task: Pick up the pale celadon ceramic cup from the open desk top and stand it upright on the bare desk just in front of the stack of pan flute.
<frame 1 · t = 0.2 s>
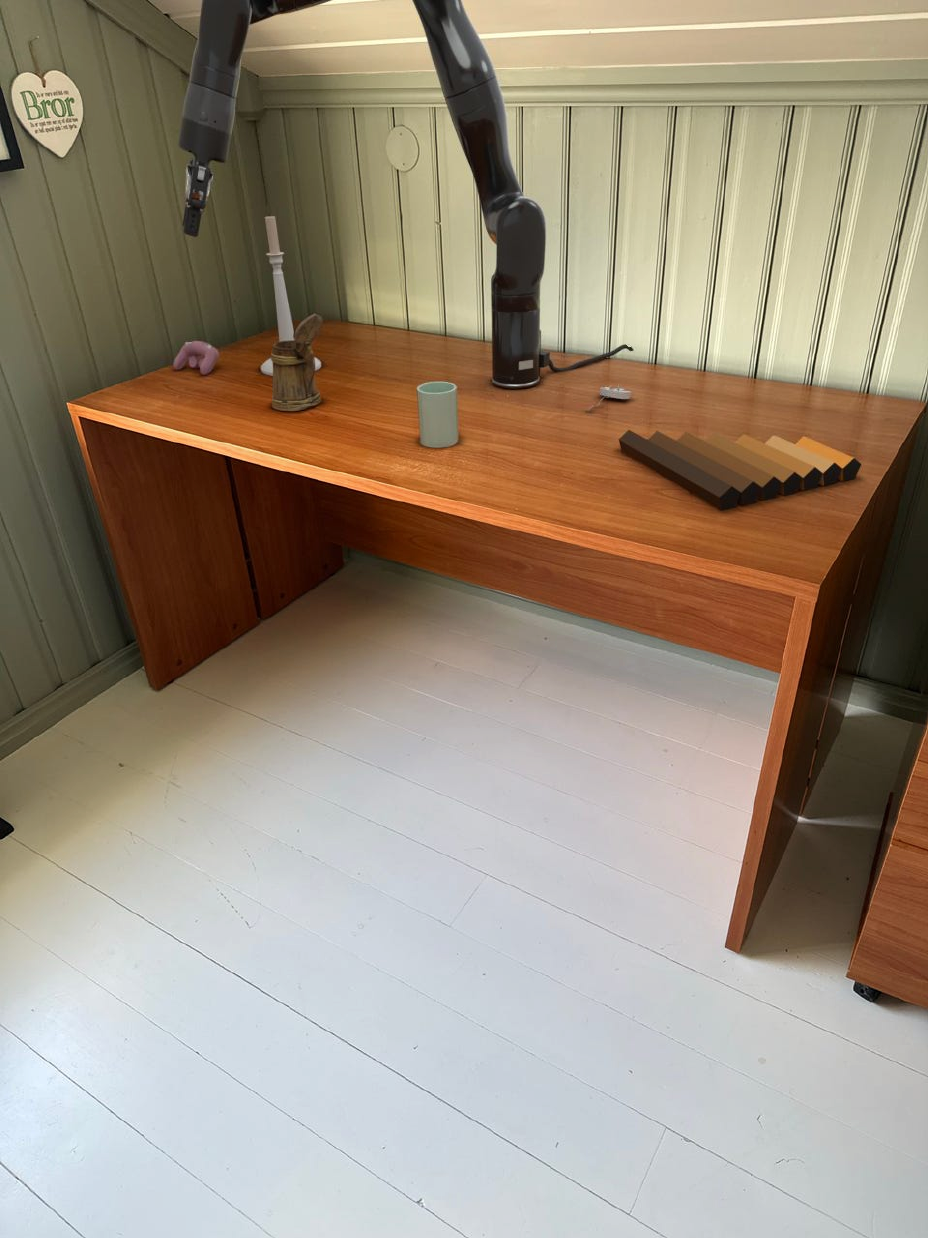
hand: (189, 231, 138), 31 cm above the table, tool tilted 20°, fingers open, 8 cm apart
pan flute: (732, 465, 128), on the table
video game controller: (198, 370, 182), on the table
cup: (439, 440, 140), on the table
wooden mug: (304, 407, 158), on the table
candlestick: (291, 368, 181), on the table
game controller: (604, 403, 154), on the table
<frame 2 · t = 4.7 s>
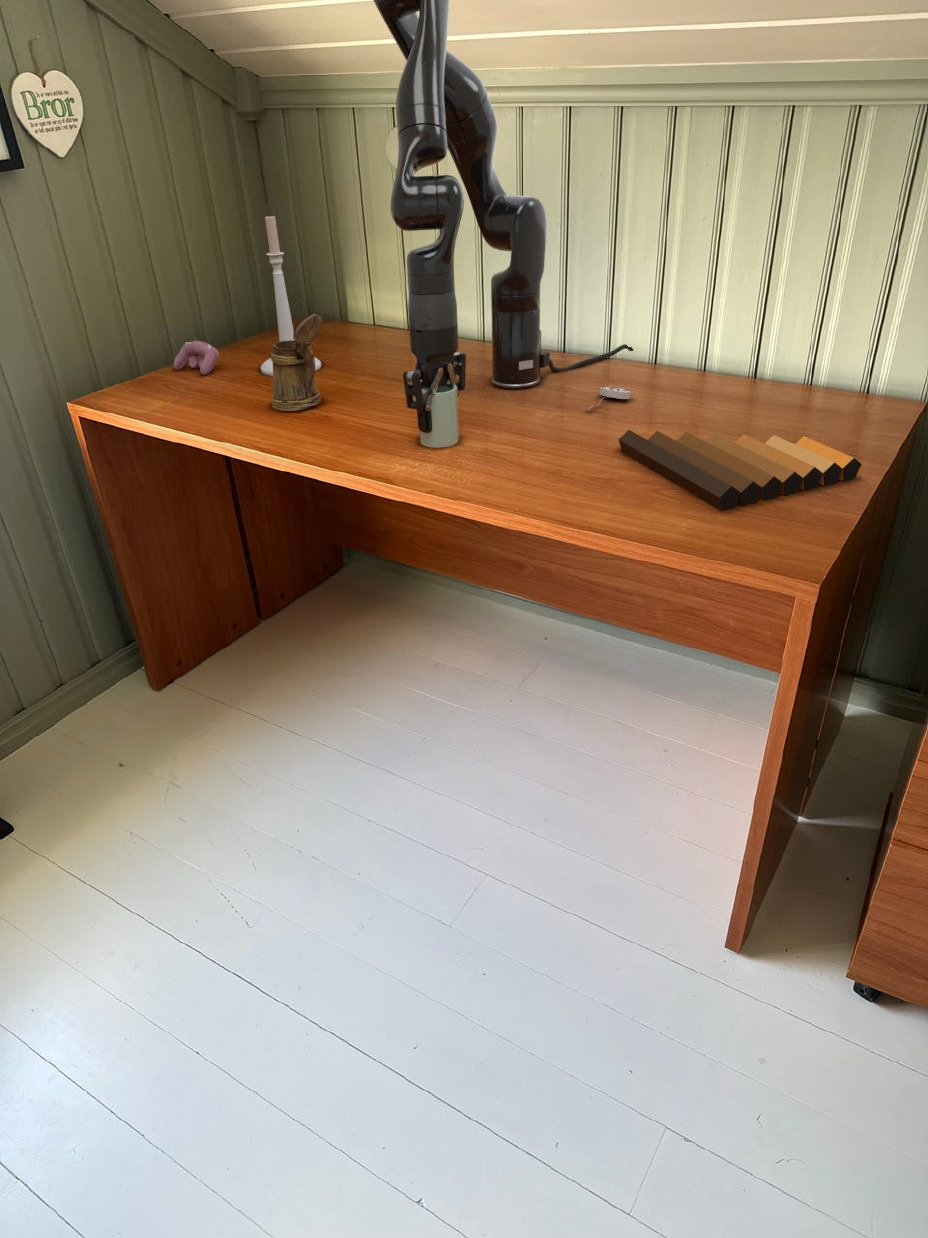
hand: (438, 424, 139), 3 cm above the table, tool pointing down, fingers closed on cup, 6 cm apart
cup: (439, 440, 140), on the table, touching gripper
everything else where it was.
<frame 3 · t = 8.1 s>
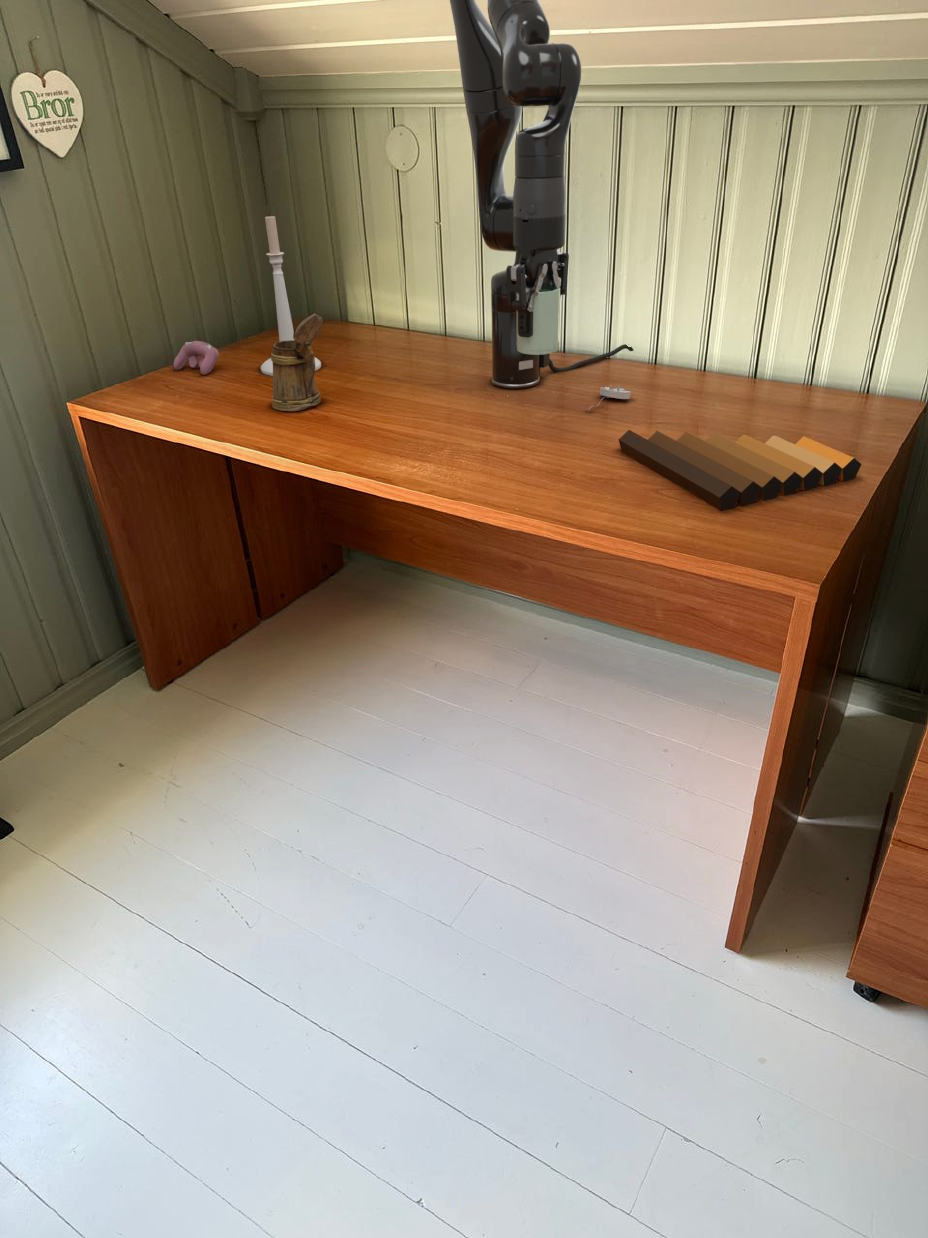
hand: (537, 331, 129), 18 cm above the table, tool pointing down, fingers closed on cup, 6 cm apart
cup: (537, 349, 131), point 15 cm above the table, touching gripper
everything else where it was.
when the fingers open (3 cm above the table, at t = 11.5 s): cup stays where it is, on the table.
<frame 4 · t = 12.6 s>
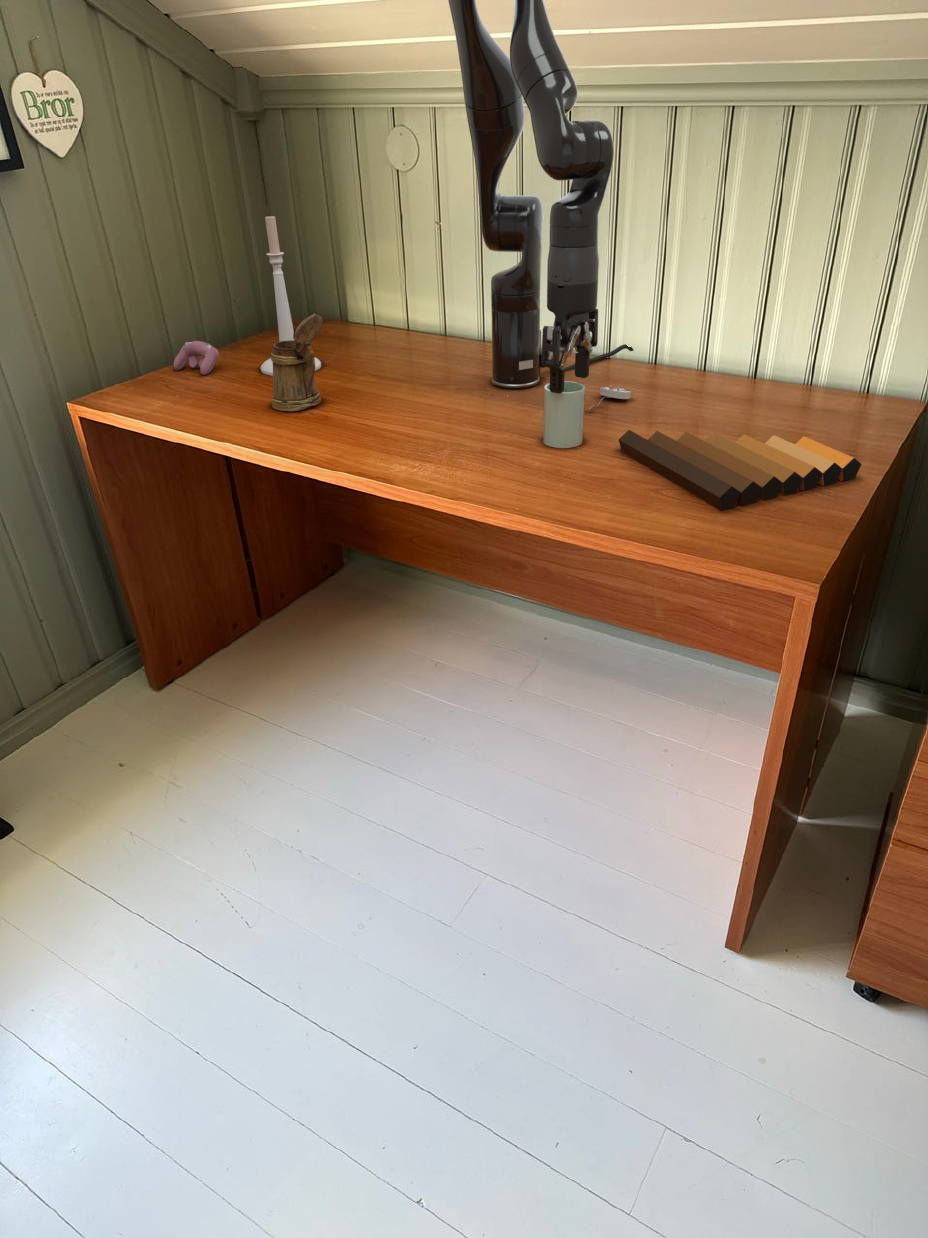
hand: (569, 384, 134), 9 cm above the table, tool pointing down, fingers open, 8 cm apart
cup: (562, 441, 138), on the table
everything else where it was.
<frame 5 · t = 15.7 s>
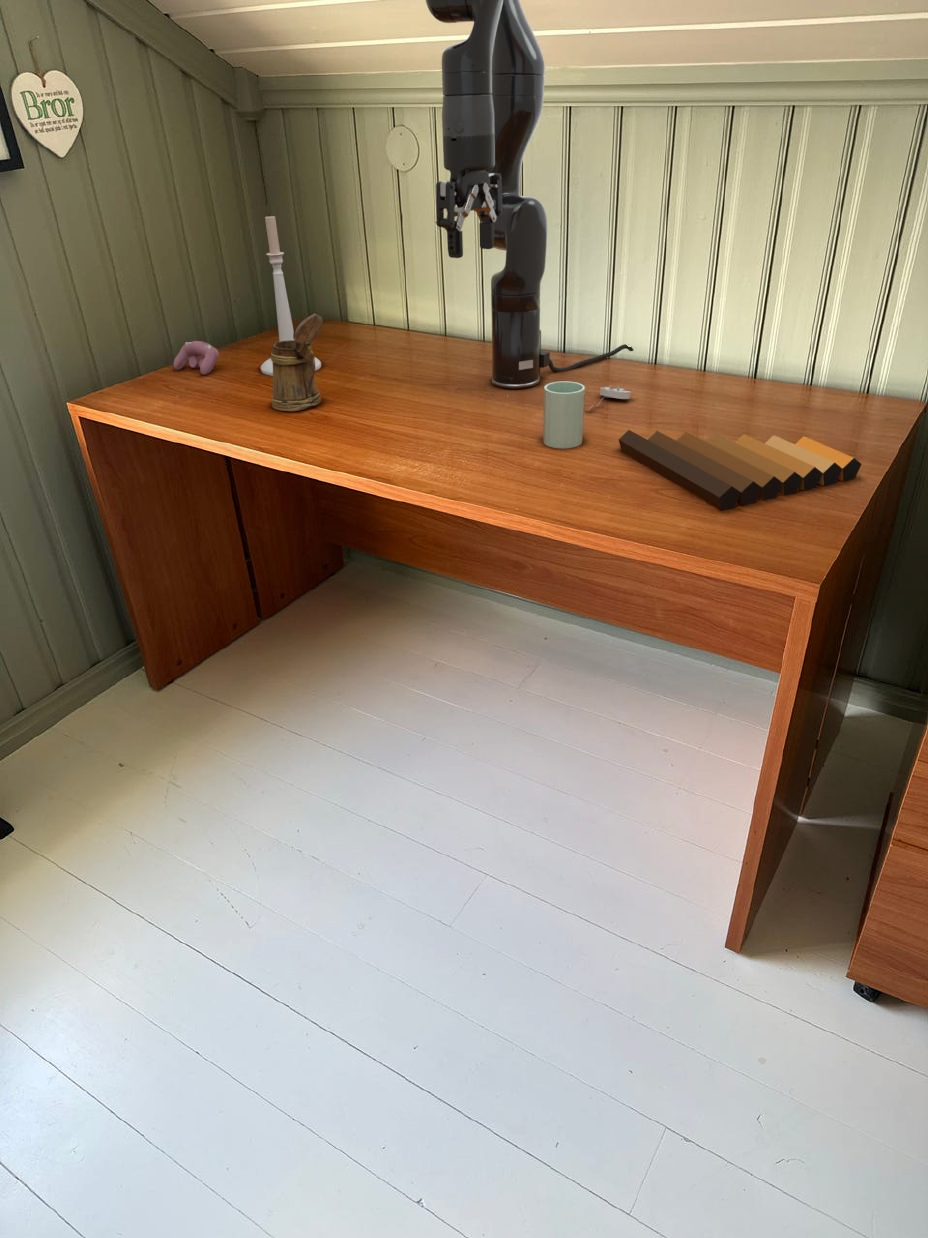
hand: (471, 252, 130), 28 cm above the table, tool pointing down, fingers open, 8 cm apart
nothing on the table moved.
at the end: cup inside the target area on the table beside the pan flute (3.3 cm from its centre), on the table; cup tilted 0°; the gripper is holding nothing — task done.
